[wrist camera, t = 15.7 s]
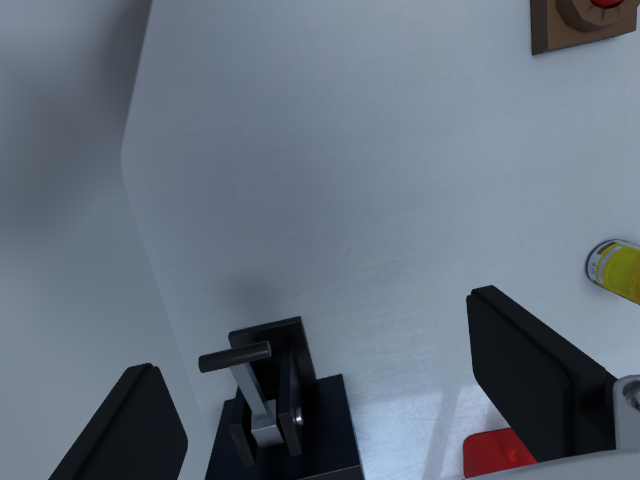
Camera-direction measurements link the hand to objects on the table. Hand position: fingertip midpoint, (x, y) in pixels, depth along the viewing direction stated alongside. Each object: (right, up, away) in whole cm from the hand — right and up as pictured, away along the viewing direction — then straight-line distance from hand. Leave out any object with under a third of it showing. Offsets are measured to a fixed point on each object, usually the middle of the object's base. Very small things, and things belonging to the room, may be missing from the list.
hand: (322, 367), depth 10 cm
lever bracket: (-5, -9, +29) cm, 31 cm away
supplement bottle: (+32, +1, +29) cm, 44 cm away
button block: (+23, +26, +21) cm, 40 cm away
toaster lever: (-5, -8, +19) cm, 21 cm away
